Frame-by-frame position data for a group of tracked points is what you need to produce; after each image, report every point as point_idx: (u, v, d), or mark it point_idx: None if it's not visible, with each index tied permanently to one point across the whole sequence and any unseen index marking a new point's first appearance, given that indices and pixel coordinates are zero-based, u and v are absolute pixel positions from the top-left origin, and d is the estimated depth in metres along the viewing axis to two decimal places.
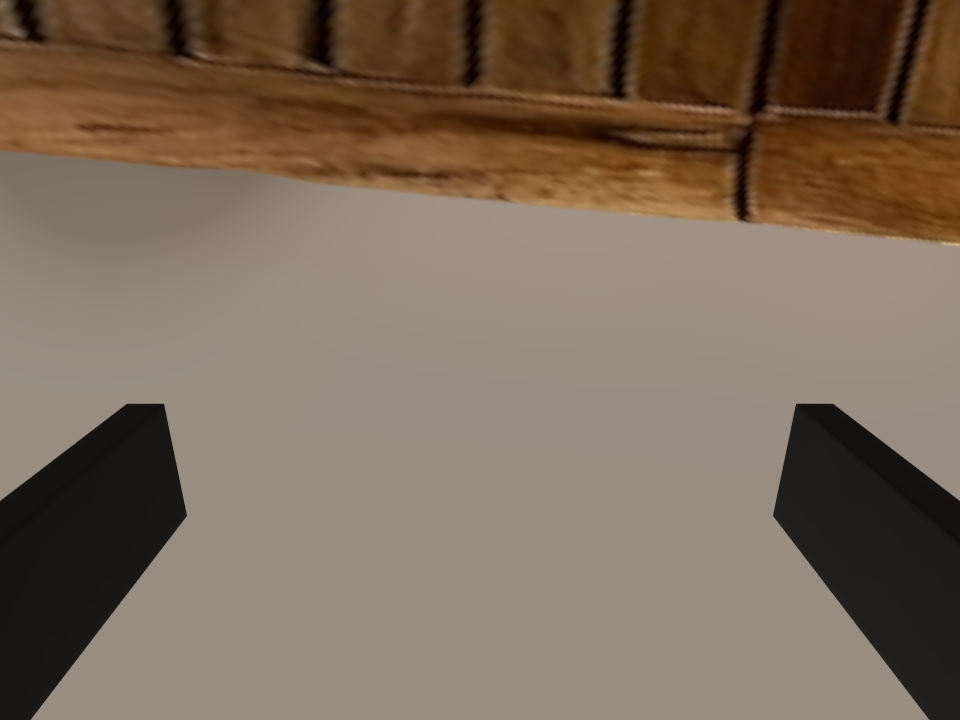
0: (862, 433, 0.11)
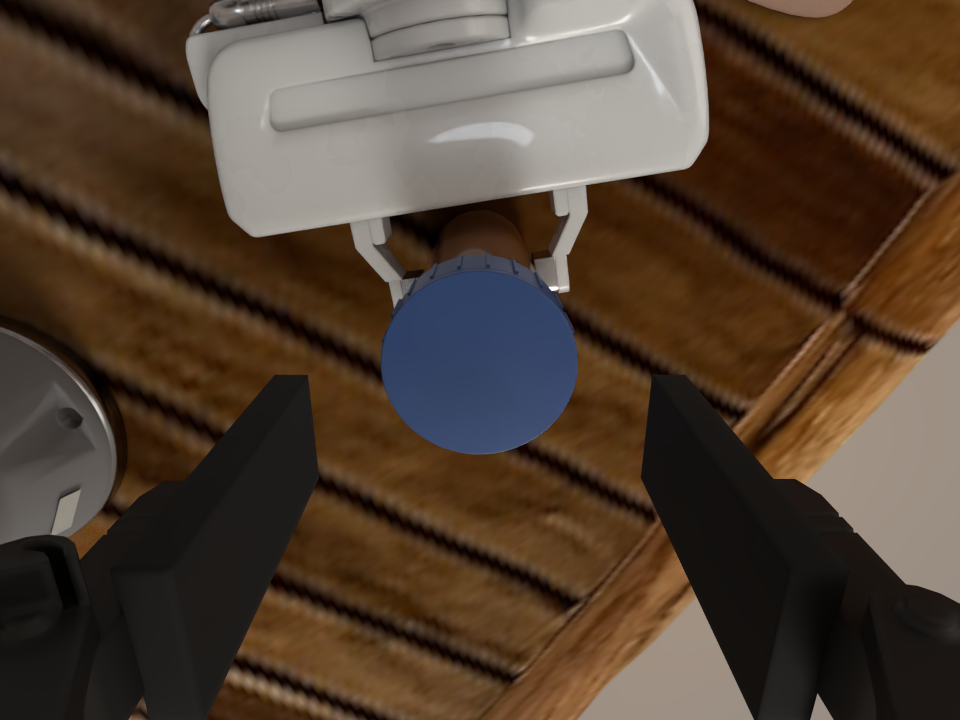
0: (697, 398, 0.12)
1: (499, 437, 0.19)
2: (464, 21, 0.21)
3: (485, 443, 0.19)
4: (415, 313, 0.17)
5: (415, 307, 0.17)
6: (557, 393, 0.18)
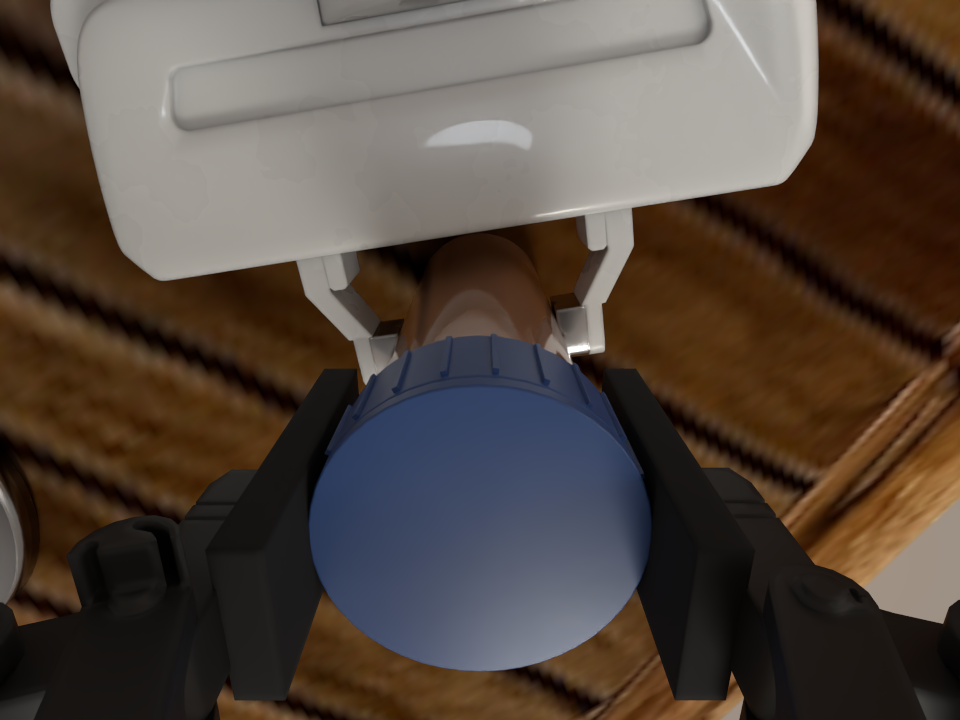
0: (642, 391, 0.13)
1: (514, 647, 0.11)
2: None
3: (490, 655, 0.11)
4: (365, 456, 0.10)
5: (365, 446, 0.09)
6: (615, 582, 0.10)
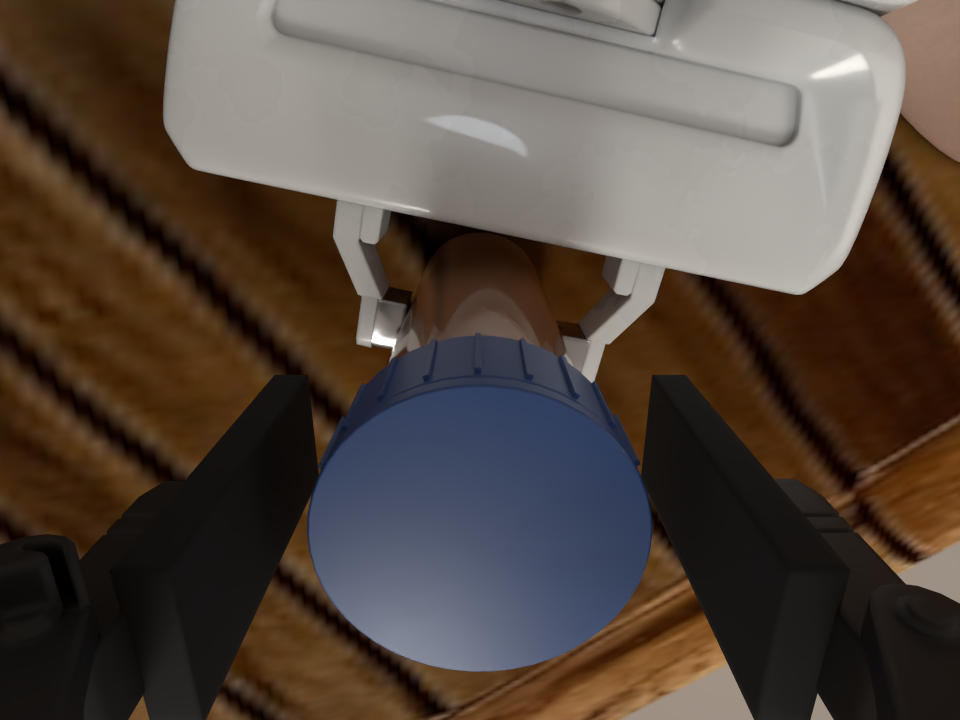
0: (697, 398, 0.12)
1: (619, 551, 0.10)
2: None
3: (620, 573, 0.10)
4: (356, 598, 0.11)
5: (346, 595, 0.11)
6: (577, 441, 0.09)
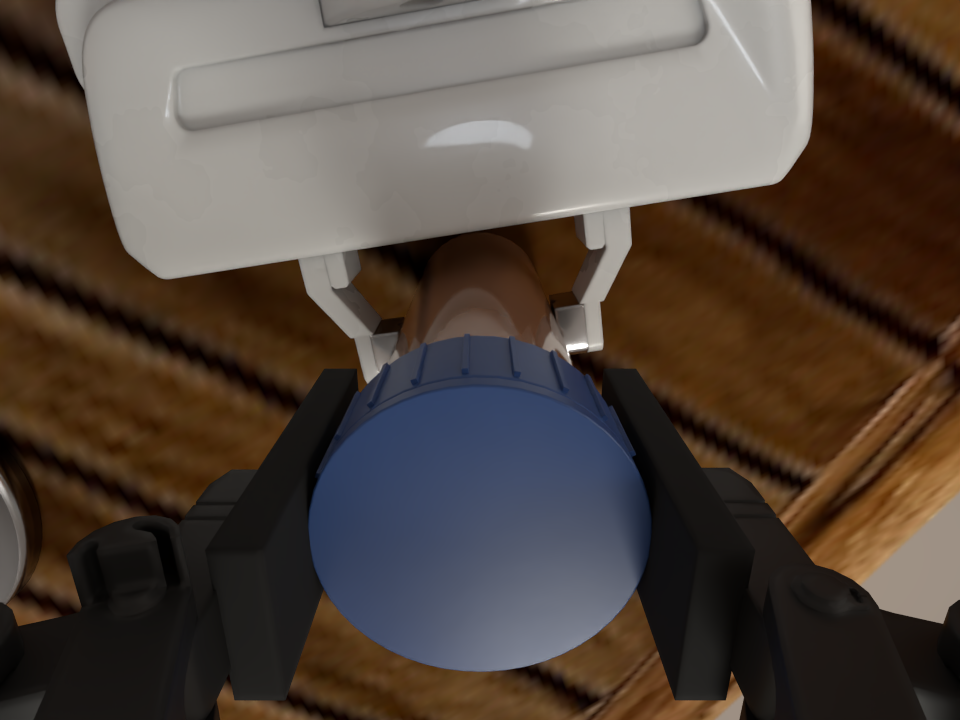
0: (642, 391, 0.13)
1: (618, 509, 0.10)
2: None
3: (629, 530, 0.10)
4: (389, 628, 0.11)
5: (379, 629, 0.11)
6: (528, 418, 0.09)
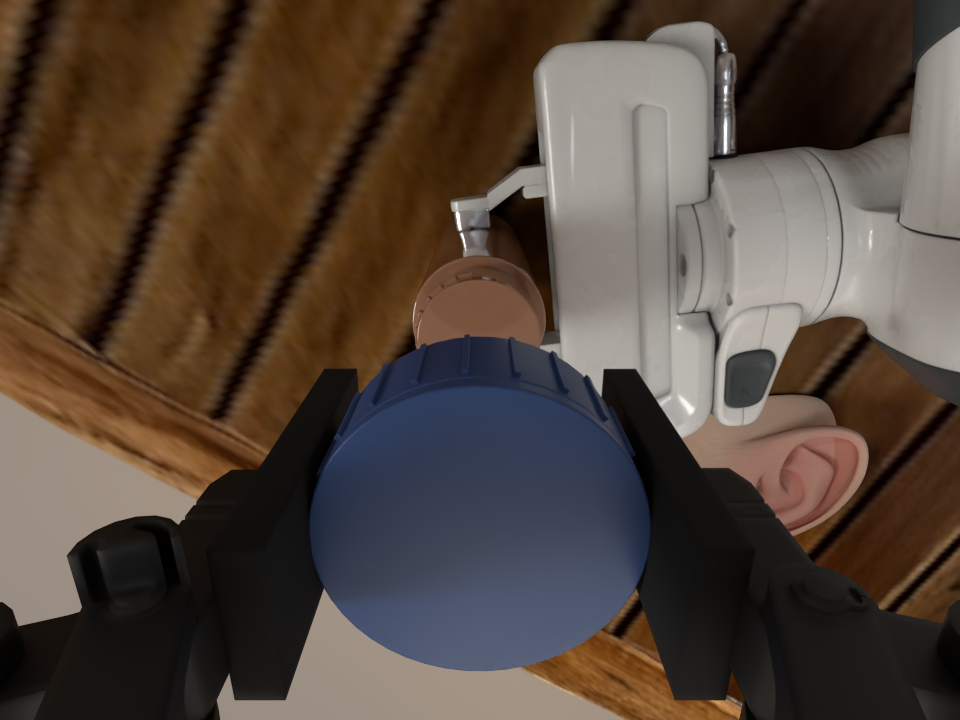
0: (642, 391, 0.13)
1: (618, 509, 0.10)
2: (698, 286, 0.28)
3: (629, 530, 0.10)
4: (389, 628, 0.11)
5: (379, 628, 0.11)
6: (528, 418, 0.09)
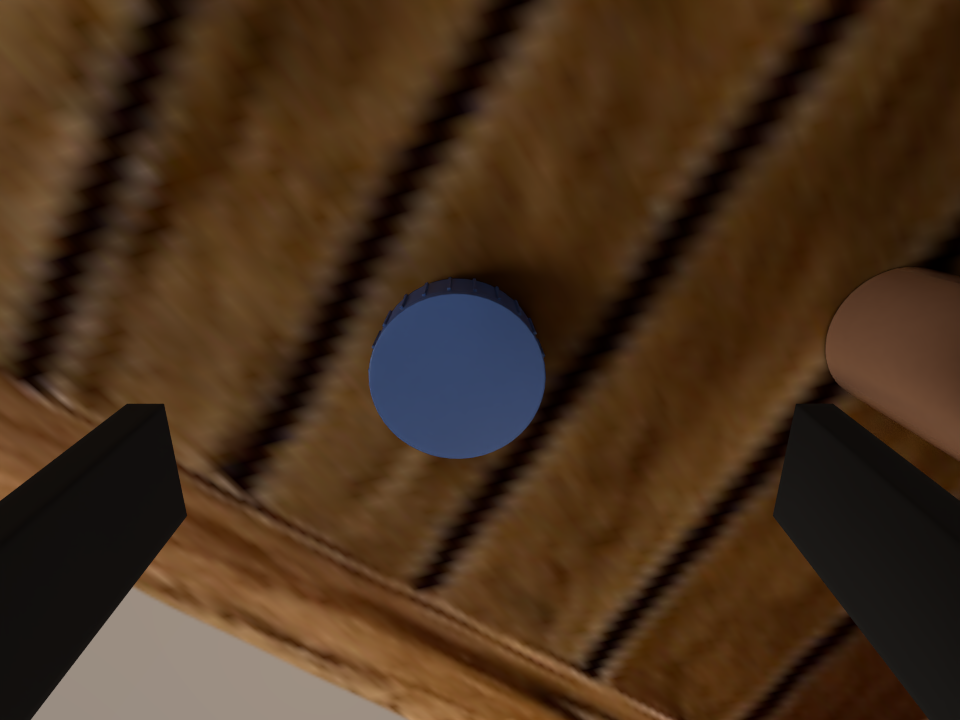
0: (862, 433, 0.11)
1: (527, 360, 0.20)
2: None
3: (533, 372, 0.20)
4: (410, 431, 0.20)
5: (404, 432, 0.20)
6: (480, 310, 0.19)
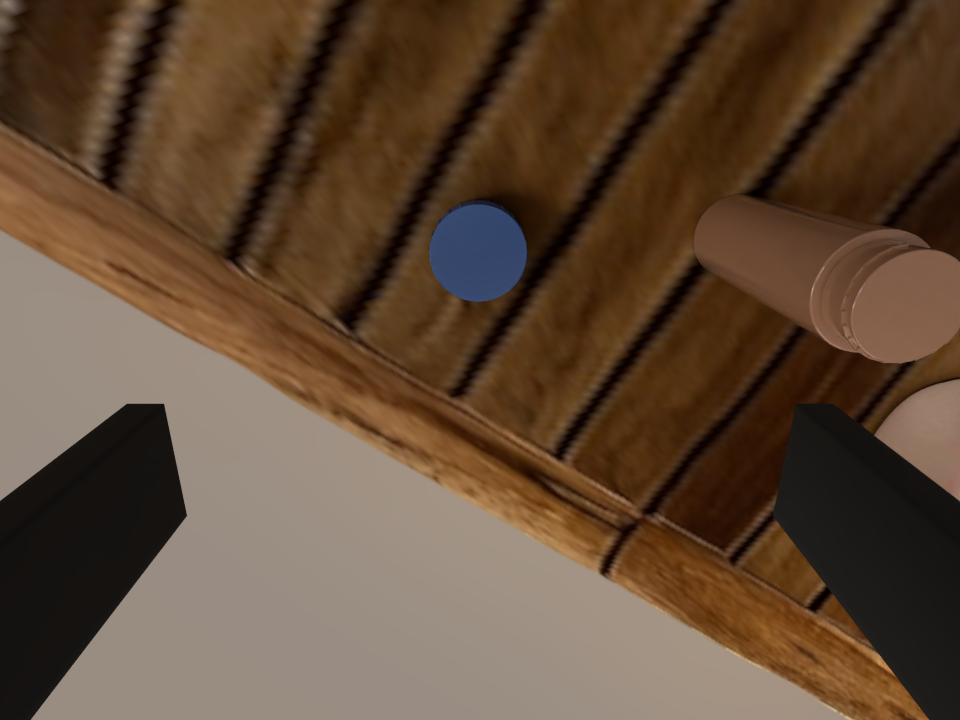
0: (862, 433, 0.11)
1: (517, 242, 0.35)
2: None
3: (520, 250, 0.36)
4: (451, 284, 0.36)
5: (448, 284, 0.36)
6: (491, 213, 0.35)
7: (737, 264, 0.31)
